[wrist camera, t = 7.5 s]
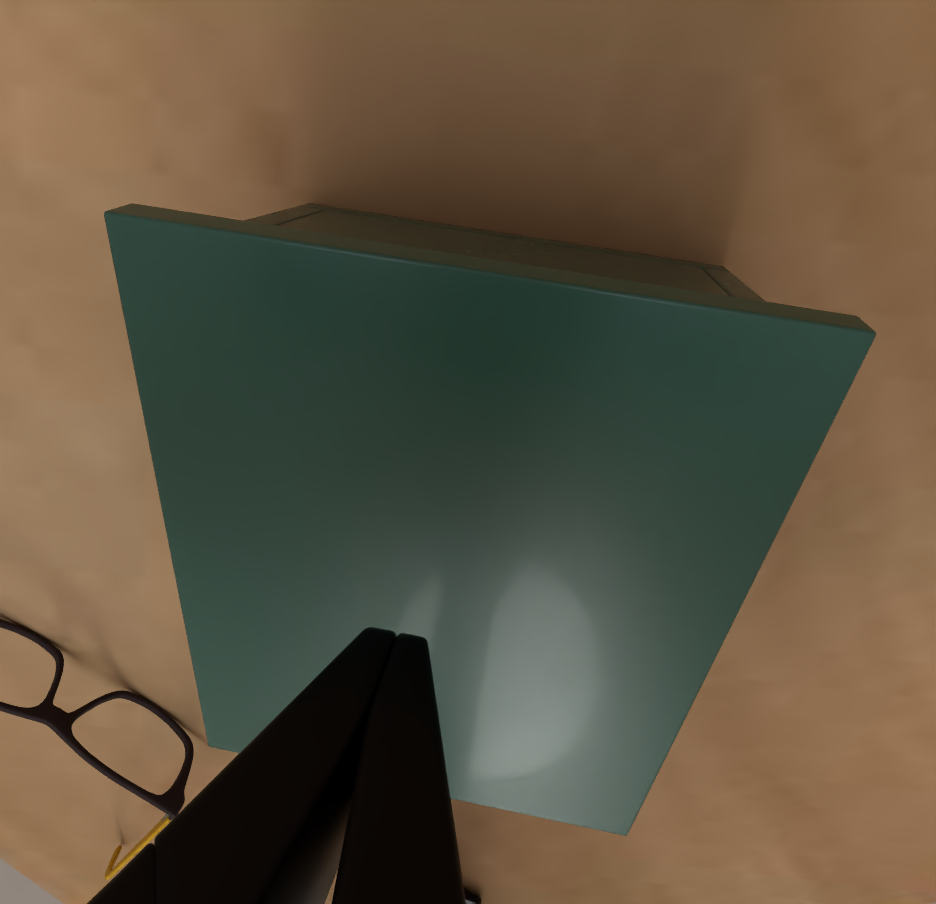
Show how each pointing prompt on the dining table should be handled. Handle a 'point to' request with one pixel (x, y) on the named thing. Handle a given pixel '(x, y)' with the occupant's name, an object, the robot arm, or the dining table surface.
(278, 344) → the lid
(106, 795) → the dining table surface
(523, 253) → the tin
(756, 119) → the dining table surface
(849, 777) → the dining table surface
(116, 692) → the eyeglasses
